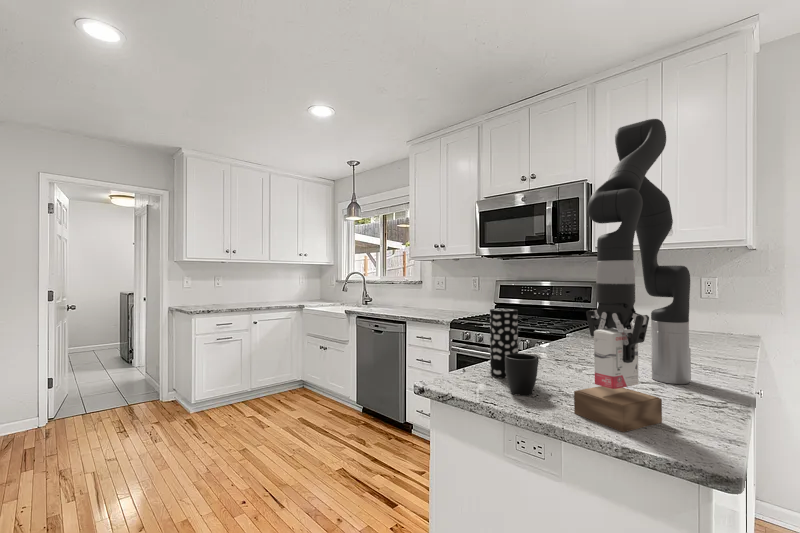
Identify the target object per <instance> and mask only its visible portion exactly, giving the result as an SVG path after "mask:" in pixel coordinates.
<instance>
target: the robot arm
mask: <svg viewBox="0 0 800 533" xmlns="http://www.w3.org/2000/svg"><path fill="white" fill-rule="evenodd" d="M666 132H667V131H666V127H665V124H664V122H662V120H661V119H658V118H649V119H645V120H642V121H639V122H635V123H631V124H627V125H624V126H620V127H618V128H617V130H616V131H615V135H614V144H615V150H616V153H617V157H618V161H619V162H618V163H617V164H616V165H615V166H614V167H613V169H612V171H611V173H610V175H609V177H608V179H607V180H606V181H605V182H604V183H602V185H600V186H599V187H598V188H597V189H595V191H594V192H593V193H592V194H591V196H590V197H589V199H588V204H587V208H586V210H587V214H588V217H589V219H591V221H593V223H596V224H611V223H613V224H614V223H620V225H619V226H618V228H617V229H615V231H612V232H608V233H605V234H602V235H601V234H600V236H598V238H597V240H596V242H597V243H596V250H597V251H596V256H597V258H596V261H597V262H596V263H597V264H596V271H595V274H596V275H595V277H596V278H595V279H596V280H595V284H596V286H595V288H596V293H595V294H596V298H595V300H596V302H597V303H598V305H597V306H598V307H597V308H596V309H592V310H591V309H590V310H586V312H585V314H586V320H587V324H588V330H589V334H590V337H593V338H594V331H595V330H600V329H603V330H604V329H614V328H615V329H617V330H618V333H621V334H622V340H623V343H624V344H625V345H623V362H625V363H631V362H633V360H634V359H635V344H637V343H638V344H641V343H642V344H643V343H644V342H645V341H646V340H645V339H646V335H647V331H648V326H649V323H651V324H650V326H651V327H650V330H651V332H650V336H651V340H650V344H651V347H650V348H651V379H653V381H657V382H660V383H667V384H671V385H672V384H673V385H685V384H687V385H688V384H690V382H691V381H692V372H691V371H692V359H691V357H692V356H691V355H692V354H691V353H692V352H691V347H690V297H691V295H690V293H691V274H690V270H689V269H688V267H687V266H685V265H659V264H658V254H659V251H660V249H661V247H662V245H663V244H664V241H665V240H666V239H667V237H668V235H669V233H670V231H671V229H672V227H673V224H674V222H673V221H674V220H673V219H674V218H673V215H672V209H671V208H672V207H671V204H670V200H669V198H668V196H667V195H666V194H665V193H664V192H663V191H662V190H661V189H660V188H658V187H657V185H655V184H654V183H653V182H651V180H650V179H648V178H647V177H646V174H647V173H648V171H649V170H650V169H651V167H652V166H653V165H654V164H655V163H656V162H657V160H658V159H659V157H660V156H661V154H663V152H664V150H665V147H666V146H667V145H666V143H667V133H666ZM635 234H636V238H637V241H638V245H639V252H640V259H641V266H642V267H641V268H642V275H643V276H642V277H643V278H642V279H643V283H644V289H645V291H646V293H647V294H648V295H649V296H651V297H657V298H672V302H671V303H670V304H668V305H666V306H664V307H661V308H657V309H653V310H651V313H650V316H649V315H647V314H639V313H637V312H636V310H635V307H634V306H635V303H636V270H635V262H634V242H635ZM650 320H651V321H650ZM649 321H650V322H649ZM632 323H633V324H632ZM625 329H627V330H625ZM627 334H628V335H627Z"/></svg>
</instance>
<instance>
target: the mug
mask: <svg viewBox="0 0 800 533" xmlns="http://www.w3.org/2000/svg"><path fill="white" fill-rule="evenodd" d="M538 366H539V356H537V354H528V353H518V354H517V353H516V354H507V355H505V371H506V377H507V379H506V380H507V384H508V387H509V392H510V393H511V394H512V395H515V396H520V397H525V396H531V395H533V394H534V393H533V392H534V388H535V385H536V382H537V376H538V368H539V367H538Z"/></svg>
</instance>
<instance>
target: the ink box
mask: <svg viewBox="0 0 800 533" xmlns="http://www.w3.org/2000/svg"><path fill="white" fill-rule="evenodd" d="M625 330H627V328H625ZM627 335H628V334H627ZM623 345H625V344H624V343H623V340H622V334H621V333H618V330H617V329H615V328H614V329H604V330H603V329H600V330H595V331H594V337H593V350H594V352H593V353H594V354H593V355H594V358H593V359H594V360H593V361H594V365H593V366H594V385H597V386H603V387H607V388H611V389H618V388H627V387H632V386H633V387H634V386H636V385H639V343H637V344H635V359H634V360H633V362H631V363H625V362H623Z"/></svg>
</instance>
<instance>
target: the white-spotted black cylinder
mask: <svg viewBox="0 0 800 533" xmlns="http://www.w3.org/2000/svg"><path fill="white" fill-rule="evenodd" d="M489 333H490V334H489V342H490V343H489V348H490V350H489V355H490V359H489V360H490V362H489V364H490V367H489V368H490V376H492V377H493V378H498V379H506V380H507V377H506V371H505V355H507V354H516V353H517V354H519V310H518V309H515V308H491V309H489Z"/></svg>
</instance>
